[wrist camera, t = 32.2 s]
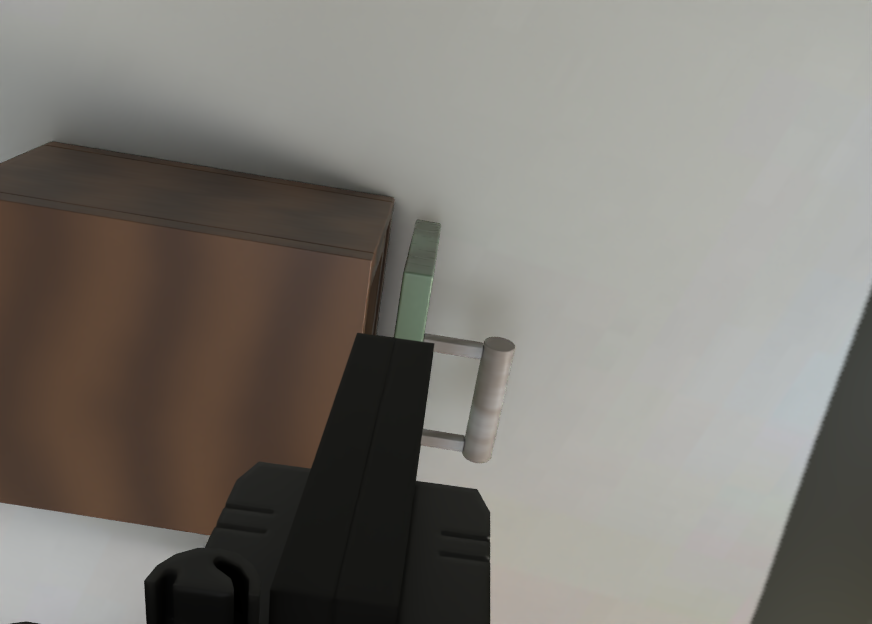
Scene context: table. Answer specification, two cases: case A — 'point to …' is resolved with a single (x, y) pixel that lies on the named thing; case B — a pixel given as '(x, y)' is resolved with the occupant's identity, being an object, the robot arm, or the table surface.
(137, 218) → the cabinet
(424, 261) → the drawer
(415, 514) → the robot arm
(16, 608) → the table surface
